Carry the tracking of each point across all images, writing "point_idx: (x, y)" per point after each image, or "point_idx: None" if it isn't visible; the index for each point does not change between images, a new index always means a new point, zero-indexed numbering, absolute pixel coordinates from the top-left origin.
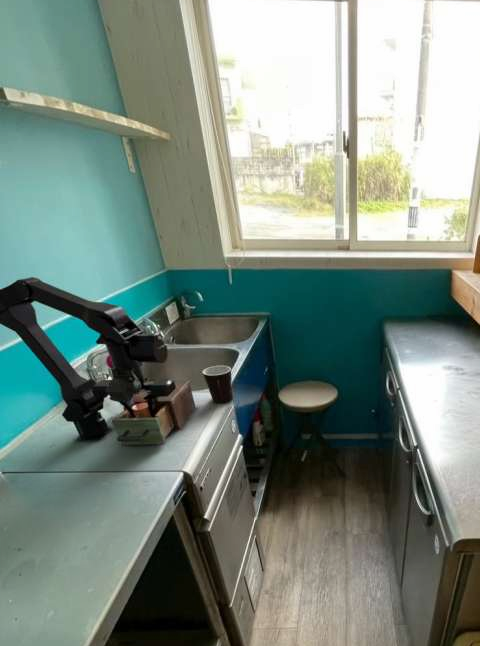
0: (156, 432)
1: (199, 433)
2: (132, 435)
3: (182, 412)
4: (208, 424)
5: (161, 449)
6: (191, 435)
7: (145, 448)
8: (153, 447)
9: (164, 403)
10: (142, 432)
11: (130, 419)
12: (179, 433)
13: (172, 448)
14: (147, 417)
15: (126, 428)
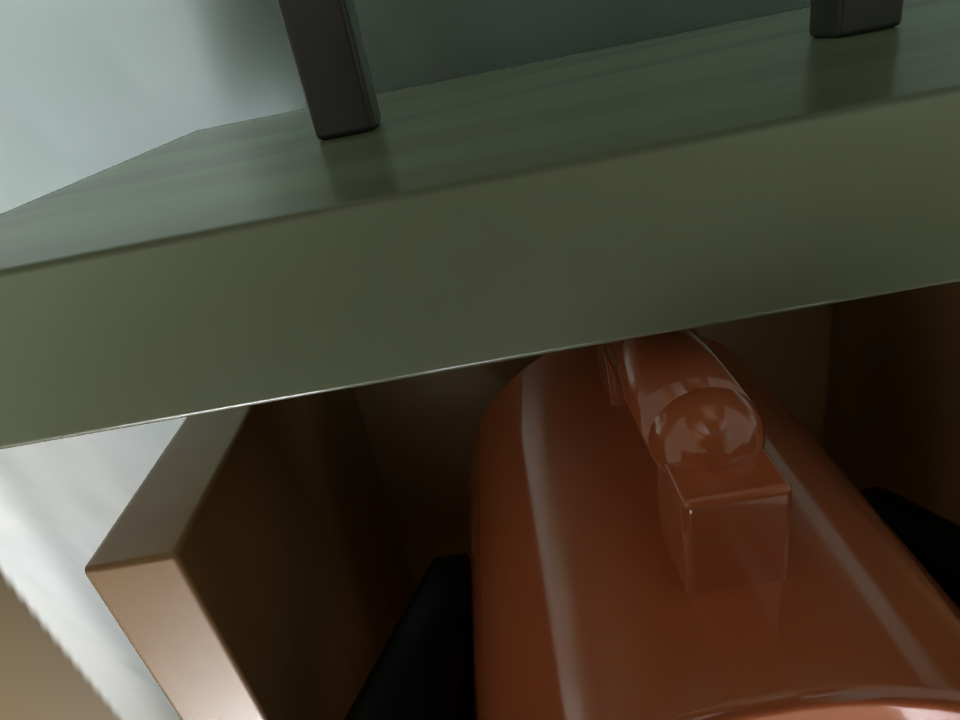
0: (179, 162)
1: (45, 497)
2: (731, 39)
3: None
4: (109, 655)
5: (220, 35)
6: (102, 447)
7: (497, 27)
8: (389, 78)
9: None
10: (491, 95)
11: (886, 155)
12: None
13: (73, 93)
14: (509, 520)
15: (923, 25)
